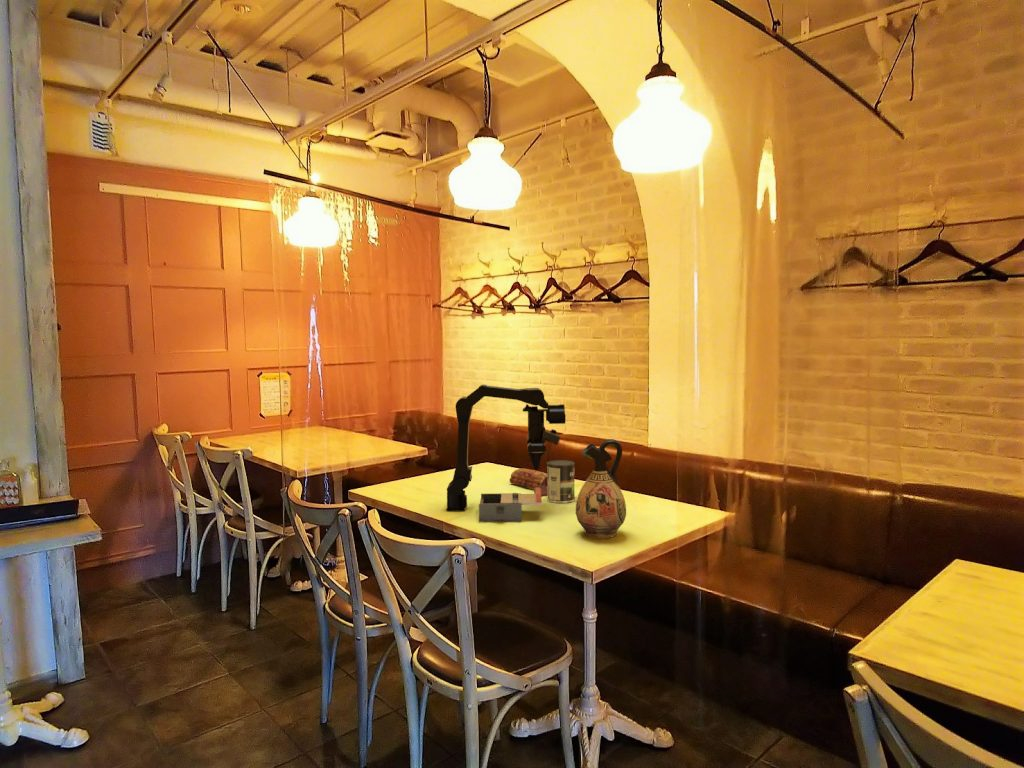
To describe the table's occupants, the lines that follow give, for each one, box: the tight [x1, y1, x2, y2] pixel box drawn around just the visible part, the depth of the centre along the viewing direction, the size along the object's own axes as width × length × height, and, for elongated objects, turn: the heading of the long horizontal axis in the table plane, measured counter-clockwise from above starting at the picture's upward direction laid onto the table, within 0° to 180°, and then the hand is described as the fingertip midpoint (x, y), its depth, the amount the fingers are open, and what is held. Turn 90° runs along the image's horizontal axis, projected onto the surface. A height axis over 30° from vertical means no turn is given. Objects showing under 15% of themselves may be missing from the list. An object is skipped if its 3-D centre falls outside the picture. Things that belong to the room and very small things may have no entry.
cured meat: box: [509, 467, 548, 497], centre depth 257 cm, size 18×25×7 cm
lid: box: [500, 487, 543, 506], centre depth 218 cm, size 14×12×3 cm
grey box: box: [478, 492, 523, 523], centre depth 218 cm, size 14×19×6 cm
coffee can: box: [546, 459, 576, 504], centre depth 239 cm, size 10×10×14 cm
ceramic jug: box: [575, 438, 627, 540], centre depth 196 cm, size 17×15×30 cm
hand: (536, 467), depth 226 cm, fingers open, 9 cm apart
